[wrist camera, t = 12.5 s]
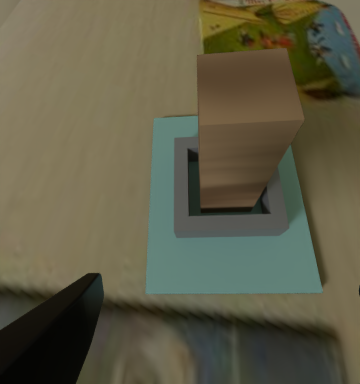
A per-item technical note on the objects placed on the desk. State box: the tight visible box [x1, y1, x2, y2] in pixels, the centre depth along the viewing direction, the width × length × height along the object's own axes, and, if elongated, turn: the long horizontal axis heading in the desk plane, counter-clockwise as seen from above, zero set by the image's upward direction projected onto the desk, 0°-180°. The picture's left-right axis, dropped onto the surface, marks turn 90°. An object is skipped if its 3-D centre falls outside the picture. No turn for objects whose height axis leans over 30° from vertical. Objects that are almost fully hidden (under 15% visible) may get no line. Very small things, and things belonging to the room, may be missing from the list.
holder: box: [146, 116, 323, 294], centre depth 22 cm, size 18×14×4 cm
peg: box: [197, 48, 305, 213], centre depth 17 cm, size 4×4×12 cm
